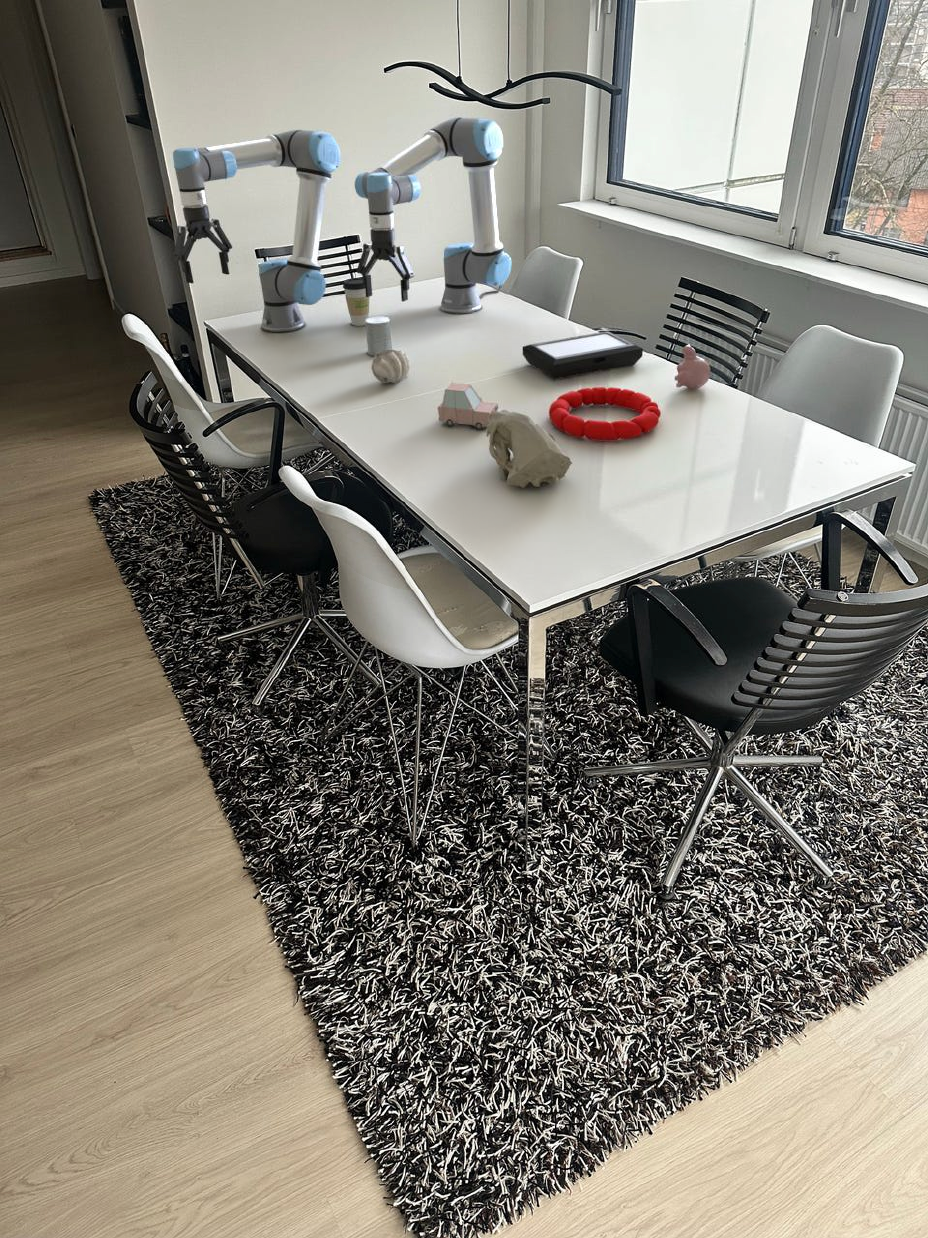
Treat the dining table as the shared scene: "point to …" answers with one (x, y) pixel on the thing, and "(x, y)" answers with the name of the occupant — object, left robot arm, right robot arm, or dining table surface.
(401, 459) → the dining table surface
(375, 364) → the seashell
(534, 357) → the electronic device
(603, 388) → the decorative ring
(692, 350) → the figurine
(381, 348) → the canister
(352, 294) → the coffee cup
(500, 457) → the animal skull
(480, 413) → the toy car
